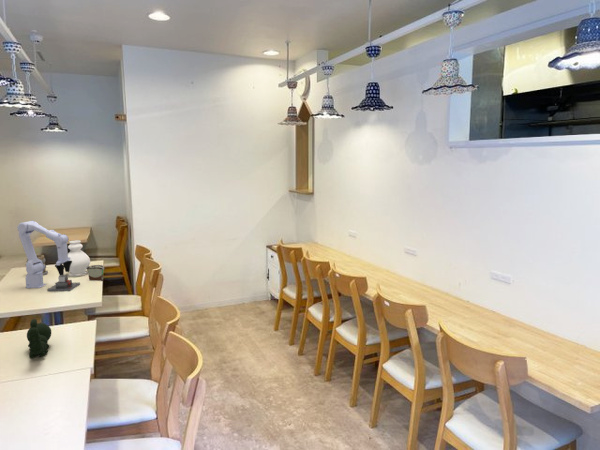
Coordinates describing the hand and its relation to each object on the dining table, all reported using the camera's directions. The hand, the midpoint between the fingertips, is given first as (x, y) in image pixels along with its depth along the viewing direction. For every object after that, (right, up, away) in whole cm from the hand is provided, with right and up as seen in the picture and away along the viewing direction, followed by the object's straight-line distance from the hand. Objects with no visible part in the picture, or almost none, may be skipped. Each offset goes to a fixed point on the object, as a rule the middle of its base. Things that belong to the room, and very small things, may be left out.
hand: (64, 273), depth 272 cm
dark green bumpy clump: (+41, -24, -90) cm, 102 cm away
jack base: (-1, -10, +1) cm, 10 cm away
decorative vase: (-9, -5, +34) cm, 36 cm away
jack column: (-1, -8, +1) cm, 8 cm away
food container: (+12, -7, +20) cm, 25 cm away
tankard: (-37, -6, +30) cm, 48 cm away
